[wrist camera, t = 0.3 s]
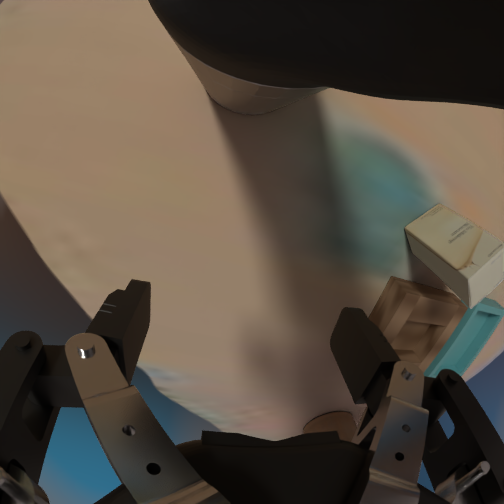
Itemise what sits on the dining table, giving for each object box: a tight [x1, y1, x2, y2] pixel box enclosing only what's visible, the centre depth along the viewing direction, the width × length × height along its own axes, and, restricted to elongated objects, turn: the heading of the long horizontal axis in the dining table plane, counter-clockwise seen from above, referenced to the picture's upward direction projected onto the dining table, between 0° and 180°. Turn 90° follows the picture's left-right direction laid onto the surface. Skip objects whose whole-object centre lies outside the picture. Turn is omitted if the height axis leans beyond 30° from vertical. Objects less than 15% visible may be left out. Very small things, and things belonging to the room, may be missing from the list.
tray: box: [423, 297, 504, 378], centre depth 37 cm, size 16×12×4 cm
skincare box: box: [405, 204, 504, 309], centre depth 24 cm, size 6×4×12 cm
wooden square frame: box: [368, 276, 468, 373], centre depth 34 cm, size 14×14×4 cm
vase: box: [303, 411, 357, 442], centre depth 33 cm, size 10×10×28 cm
